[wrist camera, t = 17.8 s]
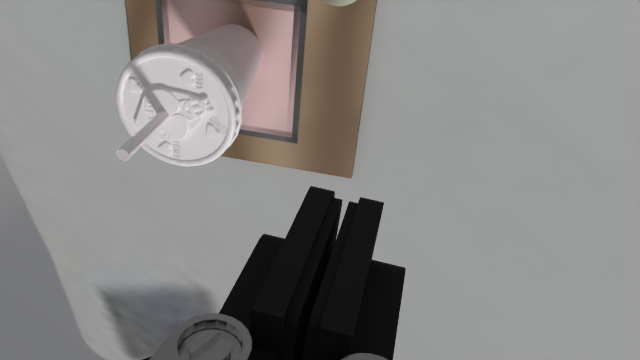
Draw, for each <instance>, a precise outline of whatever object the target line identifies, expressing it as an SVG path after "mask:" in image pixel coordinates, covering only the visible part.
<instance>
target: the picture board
mask: <svg viewBox="0 0 640 360" xmlns="http://www.w3.org/2000/svg"><path fill="white" fill-rule="evenodd" d="M376 4H377V0H126V8H127V18H128V28H129V38H130V48H131V58H132V60H133V59H134V58H136V57H137V56H138V55H139V54H140V53H141V52H142V51H144V50H146V49H148V48H150V47H152V46H154V45H161V44H168V43H172V44H178V43H180V42H183V41H185V40H188V39H190V38H193V37H196V36H198V35H201V34H203V33H206V32H208V31H211V30H213V29H216V28H219V27H221V26H224V25H228V24H236V25H240V26H243V27H245V28H247V29H249V30H250V31H251V32H252V33H253V34H254V35H255V36H256V37H257V39H258V40H259V42H260V44H261V47H262V51H263V61H262V65H261V67H260V69H259V72H258V74H257V76H256V79H255V81H254V83H253V86H252V88H251V90H250V93H249V95H248V97H247V99H246V102H245V104H244V106H243V109H242V123H241V126H240V129H239V133H238V136H237V137H236V138H235V140H234V141H233V143H232V144H231V146H230V147H229V148H227V149H226V151H225V152H224V153H223V154H222V155H221V156H224V157H230V158H236V159H242V160H247V161H253V162H259V163H265V164H271V165H276V166H282V167H288V168H294V169H300V170H306V171H311V172H317V173H323V174H329V175H335V176H341V177H346V178H352V174H353V167H354V160H355V153H356V146H357V139H358V132H359V125H360V118H361V110H362V103H363V96H364V89H365V82H366V75H367V68H368V61H369V54H370V47H371V40H372V32H373V25H374V18H375V11H376Z"/></svg>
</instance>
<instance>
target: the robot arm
mask: <svg viewBox="0 0 640 360" xmlns="http://www.w3.org/2000/svg"><path fill="white" fill-rule="evenodd" d="M334 195H335V192H334V191H330V190H326V189H321V188H317V187H313V186H311V187H310V188H309V190H308V192H307V194H306V196H305V199H304V201H303V203H302V205H301V207H300V209H299V211H298V213H297V215H296V217H295V219H294V222H293V224H292V226H291V228H290V230H289V232H288V234H287V236H286V238H285V239H283V238H279V237H275V236H271V235H267V234H263V235H262V236H261V238H260V239H259V241H258V243H257V245H256V247H255V248H254V250H253V252H252V254H251V256H250V258H249V259H248V261H247V263H246V265H245V267H244V268H243V270H242V272H241V274H240V276H239V278H238V279H237V281H236V283H235V285H234V287H233V289H232V290H231V292H230V294H229V296H228V298H227V300H226V301H225V303H224V305H223V307H222V309H221V311H220V312H219V314H216V313H207V314H202V315H198V316H194V317H192V318H190V319H188V320H186V321H184V322H183V323H182V324H180V325H179V326H178V327H177V328H176V329H175V330H174V331H173V332H172V333H171V335H170V336H169V337H168V338H167V339H166V340H165V342H164V343H163V344H162V345H161V346H160V347H159V348H158V350H157V351H156V352H155V353H154V354H153V355H152V356H151V357H149V358H146V359H143V360H393V353H394V346H395V339H396V332H397V325H398V318H399V311H400V305H401V298H402V291H403V284H404V277H405V268H404V267H399V266H395V265H391V264H387V263H383V262H379V261H375V260H372V255H373V251H374V246H375V241H376V237H377V232H378V228H379V223H380V219H381V214H382V210H383V205H384V203H383V202H379V201H374V200H370V199H366V198H361V197H360V199H359V203H354V202H349V204H348V207H347V210H346V213H345V216H344V219H343V222H342V225H341V228H340V230H339V233H338V236H337V230H338V224H339V219H340V213H341V207H342V200H341V199H337V198H334ZM336 236H337V239H336Z"/></svg>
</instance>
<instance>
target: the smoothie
mask: <svg viewBox="0 0 640 360" xmlns="http://www.w3.org/2000/svg"><path fill="white" fill-rule="evenodd" d="M262 61H263V51H262V47H261V44H260V42H259V40H258V39H257V37H256V36H255V35H254V34H253V33H252V32H251V31H250V30H249V29H247V28H245V27H243V26H240V25H236V24H228V25H224V26H221V27H219V28H216V29H213V30H211V31H208V32H206V33H203V34H201V35H198V36H196V37H193V38H190V39H188V40H185V41H183V42H180V43H178V44H172V43H168V44H161V45H154V46H152V47H150V48H148V49H146V50H144V51H142V52H141V53H140V54H139V55H138V56H137V57H136V58H134V59H133V60H132V61H131V62H129V63H128V64H127V66H126V67H125V68H124V70H123V71H122V73H121V75H120V77H119V80H118V84H117V90H116V100H117V107H118V111H119V114H120V117H121V120H122V122H123V124H124V126H125V127H126V129H127V131H128V132H129V134H130V135H131V136H132V138H131V139H130V140H129V141H128V142H127V143H126V144H125V145H123V146H122V147H121V148H120V149H119V150H118V151H117V156H118V157H119V158H120V159H121V160H123V161H126V160H128V159H129V158H130V157H131V156H132V155H133V154H134V153H135V152H136V151H137V150H138V149H139V148H140V147H142V148H143V149H145V150H146V151H147V152H149V153H150V154H152V155H153V156H155V157H157V158H159V159H161V160H163V161H165V162H168V163H171V164H175V165H180V166H198V165H203V164H206V163H209V162H211V161H213V160H215V159H217V158H218V157H219V156H221V155H222V154H223V153H224V152H225V151H226V149H227V148H229V147H230V146H231V144H232V143H233V141H234V140H235V138H236V137H237V136H238V133H239V129H240V126H241V123H242V109H243V106H244V104H245V102H246V99H247V97H248V95H249V93H250V90H251V88H252V86H253V83H254V81H255V79H256V76H257V74H258V72H259V69H260V67H261V65H262Z"/></svg>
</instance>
